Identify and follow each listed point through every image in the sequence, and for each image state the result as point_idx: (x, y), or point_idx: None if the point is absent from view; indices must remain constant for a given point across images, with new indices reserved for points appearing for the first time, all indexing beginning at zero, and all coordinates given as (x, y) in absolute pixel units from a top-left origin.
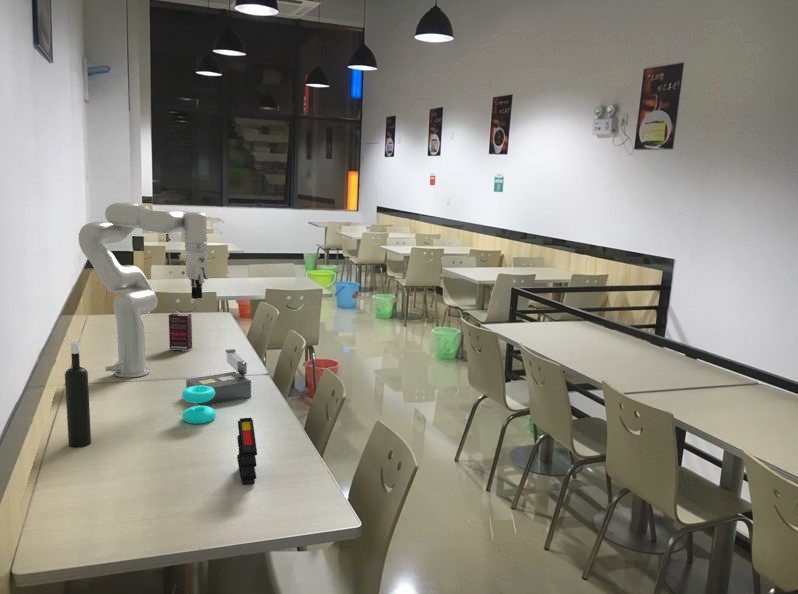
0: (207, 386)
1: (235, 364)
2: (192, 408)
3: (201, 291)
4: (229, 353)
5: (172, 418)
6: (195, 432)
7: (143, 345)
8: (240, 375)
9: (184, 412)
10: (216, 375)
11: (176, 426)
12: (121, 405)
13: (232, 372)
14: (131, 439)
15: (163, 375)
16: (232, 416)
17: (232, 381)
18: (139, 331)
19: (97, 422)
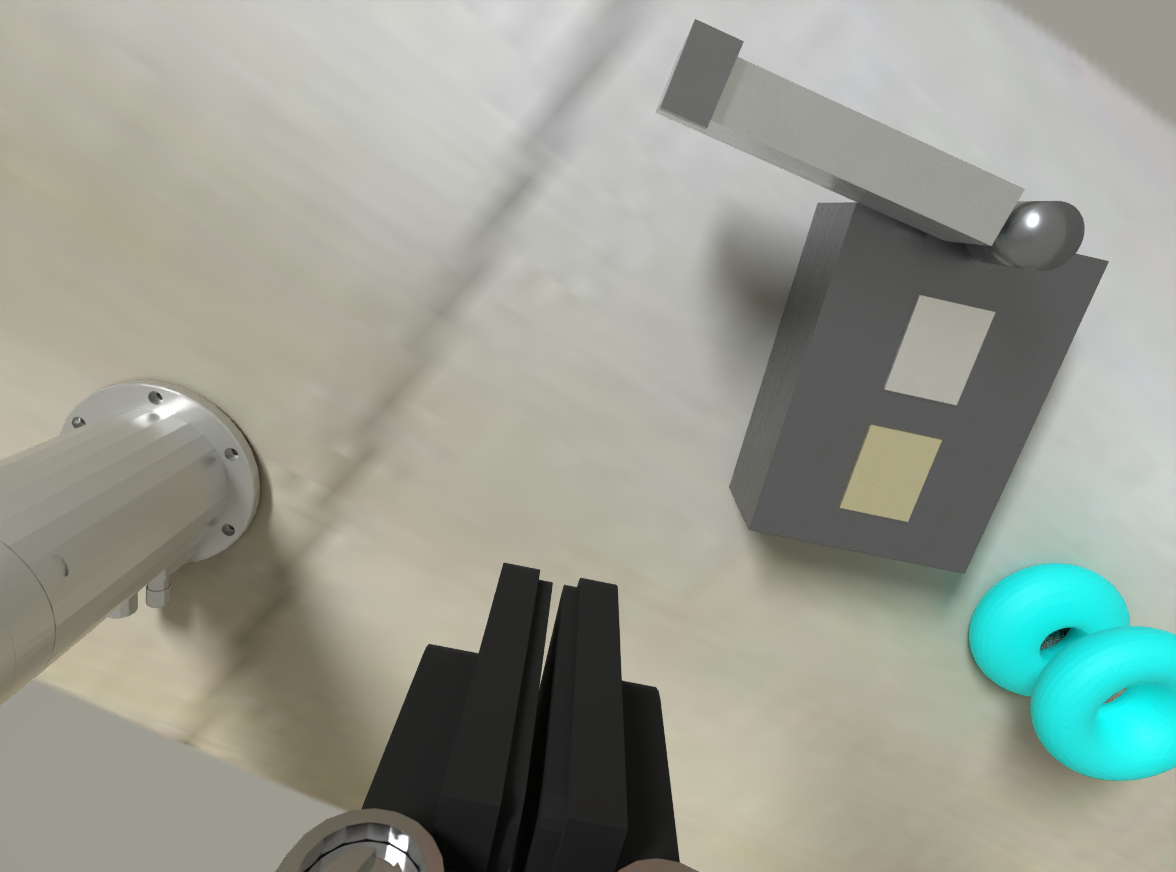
0: (1156, 672)
1: (912, 218)
2: (1037, 666)
3: (622, 710)
4: (744, 130)
5: (926, 679)
6: None
7: (90, 507)
8: None
9: (1014, 690)
10: (824, 353)
11: (1012, 713)
12: None
13: (858, 227)
14: (971, 857)
15: (307, 371)
16: (1144, 504)
17: (1011, 360)
18: (17, 611)
19: (729, 855)
